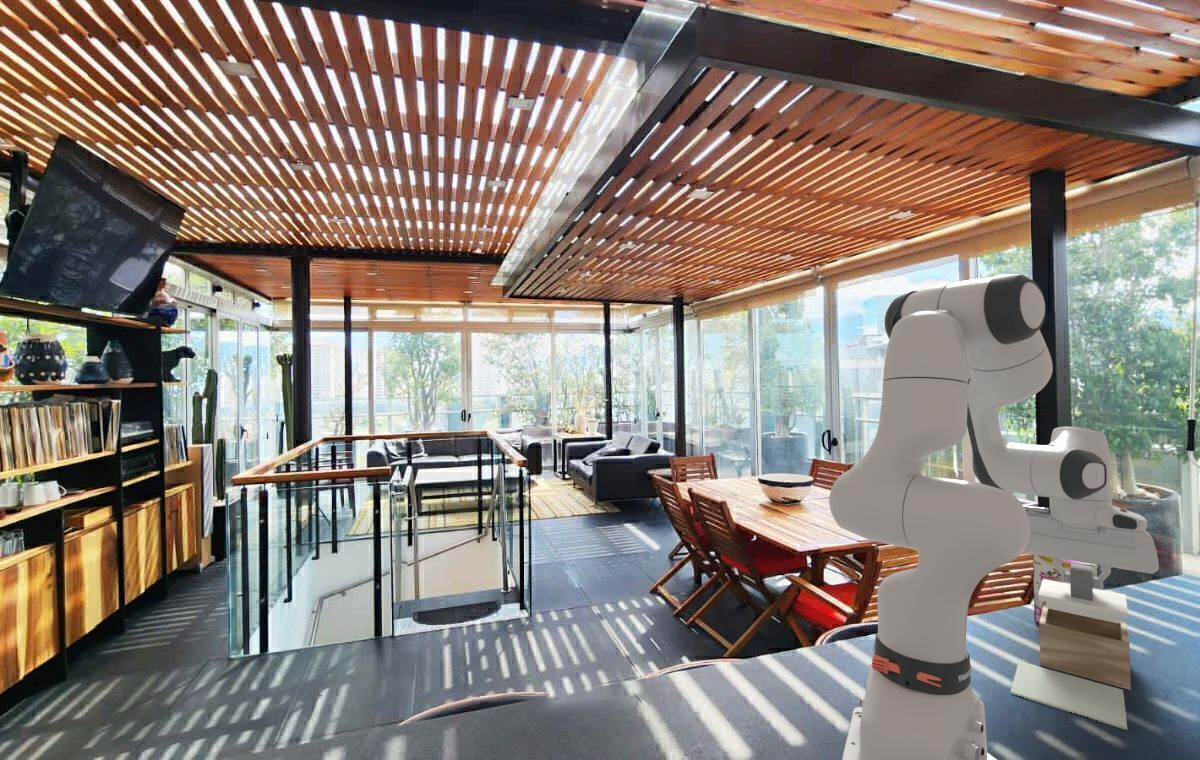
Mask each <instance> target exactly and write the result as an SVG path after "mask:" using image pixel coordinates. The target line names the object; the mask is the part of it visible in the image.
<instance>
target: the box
mask: <svg viewBox="0 0 1200 760" xmlns="http://www.w3.org/2000/svg"><path fill="white" fill-rule="evenodd" d="M1038 626H1039V628H1038V629H1039V631H1038V632H1039V665H1040V666H1041V665H1042V667H1045V668H1048V669H1051V670H1055V671H1056V670H1057V671H1059V672H1060V671H1061V672H1062V673H1063V672H1064V673H1066V674H1071V675H1074V674H1075V676H1078V675H1079V677H1082V678H1085V677H1086V679H1088V680H1089V679H1090V680H1093V681H1097V682H1101V683H1102V684H1103V683H1104V684H1106V685H1110V686H1114V687H1119V688H1122V689H1126V690H1128V691H1129V690H1130V691H1131V690H1132V686H1131V685H1132V684H1131V652H1130V651H1131V646H1130V638H1129V631H1128V626H1127V622H1125V621H1121V620H1119V624H1118V623H1113V622H1109V621H1104V620H1099V619H1095V618H1090V617H1086V616H1081V615H1077V614H1072V613H1067V612H1063V611H1058V610H1054V609H1049V608H1046V605H1043V609H1042V614H1041V618H1040V622H1039V623H1038Z"/></svg>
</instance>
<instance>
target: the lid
mask: <svg viewBox="0 0 1200 760" xmlns="http://www.w3.org/2000/svg"><path fill="white" fill-rule="evenodd" d="M1092 577H1093V576H1092V566H1088V565H1082V564H1076V563H1071V567H1070V584H1067V583H1062V582H1057V581H1051V580H1046V579H1043V580H1042V584H1041V587H1040V590H1039V593H1038V600H1041V601H1046V608H1049V609H1054V610H1058V611H1063V612H1067V613H1072V614H1077V615H1081V616H1086V617H1090V618H1095V619H1099V620H1104V621H1109V622H1113V623H1118V624H1119V621H1120V618H1123V619H1125V620H1128V619H1129V611H1128V603H1127V595H1126V594H1124V593H1119V592H1114V591H1109V590H1104V589H1103V590H1101V589H1093V588H1092Z"/></svg>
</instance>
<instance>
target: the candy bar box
mask: <svg viewBox="0 0 1200 760" xmlns="http://www.w3.org/2000/svg"><path fill="white" fill-rule="evenodd" d="M1071 563H1076V564H1082V565H1088V566H1092V576H1093V577H1099V565H1096V564H1090V563H1084V562H1078V561H1071V560H1065V559H1063V563H1062V564H1061V566H1062V567H1063V569H1064V570H1065V572H1070V567H1071ZM1032 567H1033V568H1032V569H1033V570H1032V571H1033V573H1032V574H1033V575H1032V576H1033V579H1032V581H1033V605H1034V606H1033V607H1034V609H1033V610H1034V611H1033V612H1034V613H1033V614H1034V618H1033V619H1034V622H1036V623H1037V624H1039V622H1040V618H1041V614H1042V609H1043V605H1046V601H1041V600H1038V593H1039V590H1040V587H1041V584H1042V580H1043V579H1046V580H1051V581H1057V582H1061V573H1060V572H1059V571H1058V570H1057V568H1056V567H1055V565H1054V564H1053V557H1047V556H1041V555H1035V554H1032ZM1062 583H1064V582H1062ZM1067 584H1070V583H1067ZM1093 589H1096V588H1093Z"/></svg>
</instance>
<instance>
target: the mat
mask: <svg viewBox="0 0 1200 760" xmlns="http://www.w3.org/2000/svg"><path fill="white" fill-rule="evenodd" d="M1010 695H1014V696H1016V695H1017V697H1019V696H1021V697H1020V698H1022V697H1024V698H1023V699H1026V698H1027V699H1026V700H1029V701H1033V702H1036V703H1039V704H1042V705H1045V706H1048V707H1052V708H1054V709H1058V710H1061V711H1065V712H1068V713H1070V712H1072V713H1071V714H1074V713H1076V714H1075V715H1077V714H1079V715H1078V716H1080V715H1082V716H1081V717H1083V716H1085V717H1084V718H1086V717H1089V718H1088V719H1090V718H1091V719H1090V720H1093V719H1094V720H1093V721H1096V720H1097V722H1099V723H1103V724H1106V725H1109V726H1113V727H1115V728H1119V729H1122V730H1125V731H1128V724H1127V723H1128V722H1127V721H1128V720H1127V713H1126V712H1127V711H1126V706H1125V705H1126V704H1125V694H1124V689H1123V688H1122V689H1121V688H1117V687H1116V686H1114V687H1113V686H1112V685H1108V684H1105V683H1104V684H1103V683H1099V682H1098V681H1097V682H1095V681H1094V680H1093V681H1092V680H1089V679H1087V678H1086V679H1085V678H1083V677H1082V678H1081V677H1078V676H1076V675H1075V676H1074V675H1072V674H1071V675H1070V674H1069V673H1065V672H1064V673H1063V672H1060V671H1058V670H1057V671H1056V670H1054V669H1050V668H1047V667H1045V668H1044V667H1043V666H1042V667H1041V666H1039V665H1035V664H1031V663H1028V662H1023V661H1020V660H1018V663H1017V667H1016V671H1015V674H1014V677H1013V681H1012V684H1011V689H1010Z"/></svg>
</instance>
